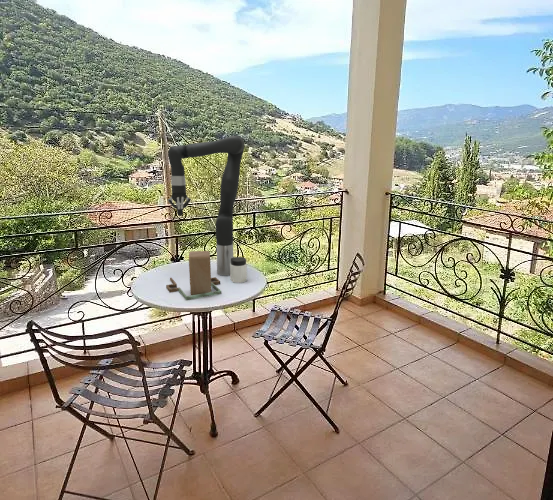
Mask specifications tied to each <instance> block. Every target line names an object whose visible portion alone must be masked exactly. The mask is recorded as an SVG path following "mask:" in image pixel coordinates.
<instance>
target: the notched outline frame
mask: <svg viewBox="0 0 553 500" xmlns="http://www.w3.org/2000/svg"><path fill="white" fill-rule="evenodd" d="M169 281H170V282H171V284H166V286H165V288H166V290H167V291H168V292H169V293H177V292H179V293H180V295H181V296H182V297H183V299H184V300H185V301H190V300H191V301H192V300H195V299H201V298H205V297H212V296H216V295H217V296H218V295H221V294H222V290H221V288H219V287H218V285H221V280H220V279H219V278H217V276H215V277H211V288H213V289H214V290H215V291H211V292H209V293H203V294H197V295H187V294H186V293H185V292H184V291H183V289H182V288H181V287H178V284H177V283H176V281H175V280H174V279H173V278H172V277H169Z"/></svg>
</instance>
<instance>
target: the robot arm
mask: <svg viewBox="0 0 553 500" xmlns="http://www.w3.org/2000/svg"><path fill="white" fill-rule="evenodd" d="M244 150H245V141H244V139H243V138H242V137H241V136H238V135H230V136H228V137H224V138H221V139H218V140H214V141H213V140H212V141H203V142H202V141H201V142H195V143H188V144H184V145H173V146H172V145H171V147H169V149H168V153H167V155H168V160H169V165H170V172H171V177H170V181H171V182H170V185H171V186H170V187H171V196H170V197H169V198H168V199H167V202H168V203H169V204H170V205H171V207H173V208H174V209H176V214H177V216H178V217H183V215H184V209H185V208H187V206H188V205H189V204H190V202H191V201H192V199H191V198H190V197H189V196H188V195H187V188H186V187H187V184H186V183H187V182H186V174H185V166H184V165H183V161H182V160H183V159H188V158H198V157H199V158H200V157H204V156H209V155H215V154H227V160H226V164H225V167H224V170H223V173H222V177H221V183H220V190H219V191H220V192H219V194H220V195H219V196H220V198H219V199H220V203H219V209H218V215H217V217H216V220H215V241H216V243H215V244H216V274H217V275H219V276H224V277H225V276H230V263H231V258H234V257H235V256H234V220H233V219H234V218H233V217H234V216H233V215H234V206H235V202H236V198H237V195H238V190H239V183H240V173H241V162H242V158H243V154H244Z"/></svg>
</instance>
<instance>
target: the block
mask: <svg viewBox="0 0 553 500" xmlns="http://www.w3.org/2000/svg"><path fill="white" fill-rule="evenodd" d="M188 269H189V270H188V271H189V272H188V273H189V292H190V294H189V295H190V296H192V295H197V294H203V293H209V292H212V286H211V278H212V272H211V269H212V268H211V252H210V251H209V250H197V251H194V250H193V251H191V250H190V251H189V253H188Z"/></svg>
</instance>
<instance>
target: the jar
mask: <svg viewBox="0 0 553 500" xmlns="http://www.w3.org/2000/svg"><path fill="white" fill-rule="evenodd" d="M247 271H248V264H247V259H246V257H242V256H234V258H231V263H230V275H229V276H230V277H229V279H230V281H231V282H232V283H238V284H242V283H244V282H247V281H248V272H247Z"/></svg>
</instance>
